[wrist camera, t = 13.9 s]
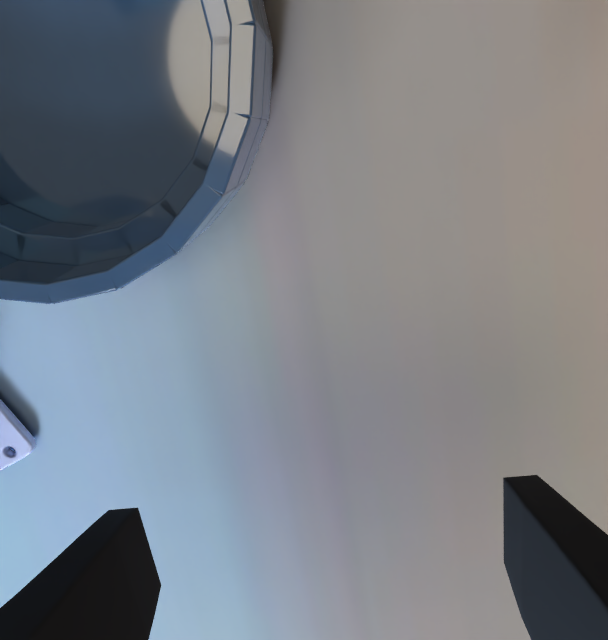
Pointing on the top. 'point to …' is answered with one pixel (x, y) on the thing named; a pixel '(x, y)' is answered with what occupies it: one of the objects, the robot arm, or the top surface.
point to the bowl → (121, 134)
